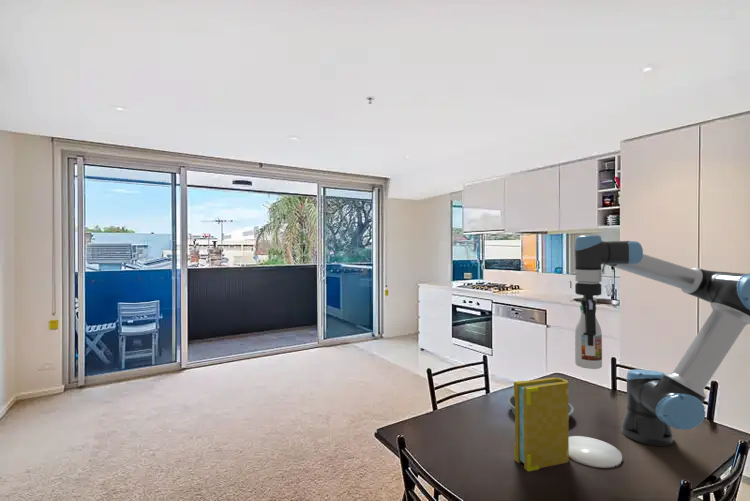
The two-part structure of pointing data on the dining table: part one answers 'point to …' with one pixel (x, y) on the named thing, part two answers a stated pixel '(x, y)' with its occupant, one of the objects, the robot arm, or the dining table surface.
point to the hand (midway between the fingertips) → (588, 351)
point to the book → (541, 422)
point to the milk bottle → (580, 356)
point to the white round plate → (593, 452)
